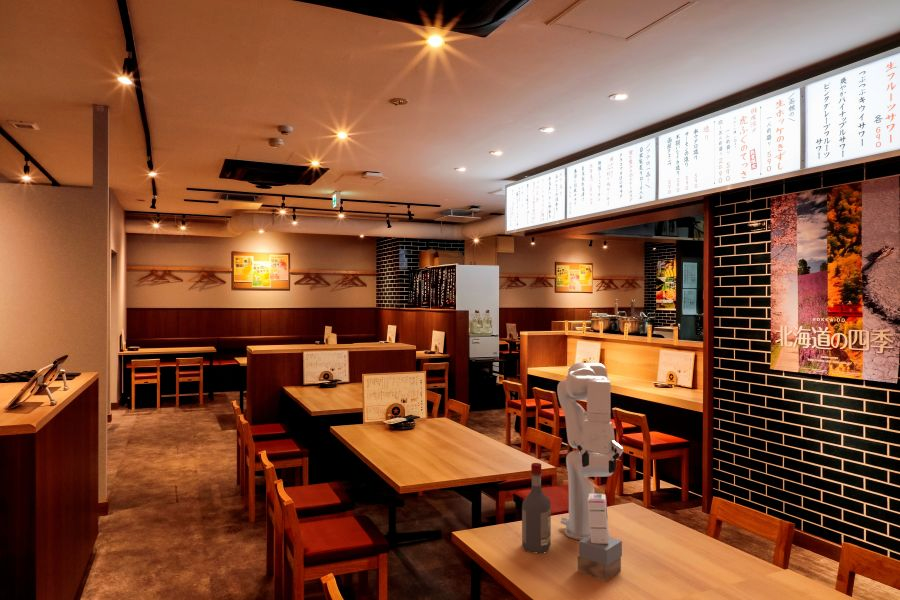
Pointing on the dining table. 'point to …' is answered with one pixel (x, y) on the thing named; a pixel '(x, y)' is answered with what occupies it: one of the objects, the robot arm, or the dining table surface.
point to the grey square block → (600, 550)
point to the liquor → (536, 516)
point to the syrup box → (598, 518)
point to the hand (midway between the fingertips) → (598, 469)
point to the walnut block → (599, 568)
